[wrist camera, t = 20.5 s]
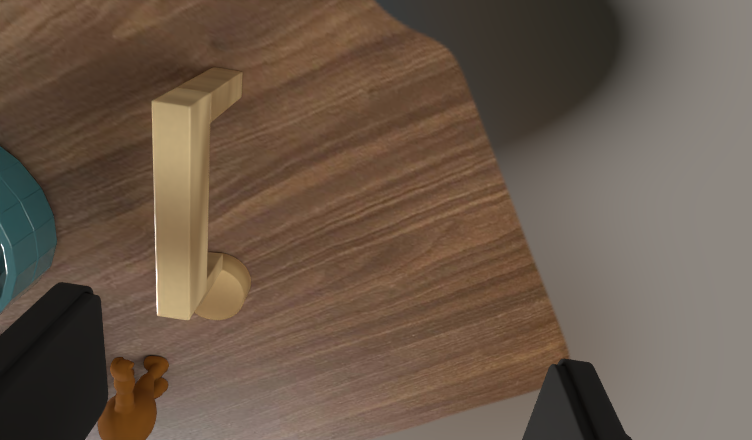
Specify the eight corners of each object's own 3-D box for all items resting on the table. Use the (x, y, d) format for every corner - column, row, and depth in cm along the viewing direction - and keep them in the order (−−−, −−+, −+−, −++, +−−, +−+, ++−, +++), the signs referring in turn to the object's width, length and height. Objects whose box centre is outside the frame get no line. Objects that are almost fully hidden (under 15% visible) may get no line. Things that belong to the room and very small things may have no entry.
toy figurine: (131, 306, 40) (83, 367, 34) (181, 315, 41) (142, 378, 34) (132, 423, 46) (91, 494, 39) (176, 430, 46) (141, 502, 40)
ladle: (191, 63, 33) (122, 95, 24) (264, 74, 33) (218, 111, 25) (190, 299, 40) (136, 384, 32) (249, 308, 40) (210, 396, 32)
